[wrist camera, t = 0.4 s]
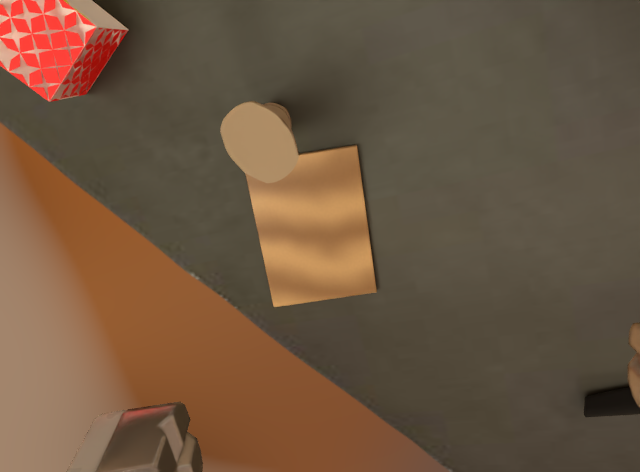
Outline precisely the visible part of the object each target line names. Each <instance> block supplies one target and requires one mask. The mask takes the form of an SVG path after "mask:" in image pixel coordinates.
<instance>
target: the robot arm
mask: <svg viewBox="0 0 640 472" xmlns="http://www.w3.org/2000/svg"><path fill="white" fill-rule="evenodd" d="M629 345H630V346H631V347H632V348H633V349H634V350H635V351H636V352H637V353H636V354H635V356H634V357H633V358H632V360H631V361H630V362H629V364H628V383H629V386H630V390H631V393H632V396H633V398H634V400H635V401H636V403H637V405H638V406H639V408H640V322H639V323H633V325H632V327H631V329H630V331H629ZM189 422H190V417H189V415H188V412H187V410H186V407H185V405H184V404H183V403H181V402H174V403H168V404H162V405H154V406H148V407H141V408H135V409H128V410H122V411H116V412H111V413H104V414H101V415H99V416H98V417H96V418H95V420H94V421H93V423H92V425H91V427H90V429H89V430H88V432H87V434H86V436H85V438H84V440H83V442H82V444H81V446H80V447H79V449H78V451H77V453H76V455H75V457H74V459H73V460H72V463H71V464H70V466H69V468H68V470H67V472H202V468H203V467H202V464H203V462H202V456H201V450H200V447H199V444H198V441H197V438H195V437H194V436H192V435H191V434H190V433H188V432H187V430H188V426H189Z"/></svg>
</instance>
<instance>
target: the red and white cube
mask: <svg viewBox="0 0 640 472" xmlns="http://www.w3.org/2000/svg"><path fill="white" fill-rule="evenodd" d="M128 30H129V29H127V28H126V27H125V26H124V25H122V24H121V23H120V22H119V21H117V20H116V19H115V18H114V17H112V16H111V15H110V14H109V13H107V12H106V11H105V10H104V9H102V8H101V7H100V6H99V5H97V4H96V3H95V2H94V1H92V0H0V66H1V67H3V68H4V69H6V70H7V71H8V72H10V73H11V74H12V75H14V76H15V77H16V78H18V79H19V80H20V81H22V82H23V83H25V84H26V85H27V86H29V87H30V88H31V89H33V90H34V91H35V92H37V93H38V94H39V95H41V96H42V97H44V98H45V99H46V100H48V101H49V102H52V101H56V100H61V99H66V98H70V97H75V96H80V95H85V94H87V93H88V91H89V89H90V88H91V86H92V85H93V83H94V82H95V80H96V79H97V77H98V76H99V74H100V73H101V71H102V70H103V68H104V67H105V65H106V64H107V62H108V60H109V59H110V57H111V56H112V54H113V53H114V51H115V50H116V48H117V47H118V46H119V44H120V42H121V41H122V39H123V38H124V36H125V35H126V33H127V32H128Z"/></svg>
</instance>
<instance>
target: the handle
mask: <svg viewBox="0 0 640 472" xmlns="http://www.w3.org/2000/svg"><path fill="white" fill-rule="evenodd" d="M220 131H221V135H222V138H223V142H224V145H225V148H226V150H227V152H228V154H229V155H230V157H231V158H232V159H233V160H234V162H235V163H236V164H237V165H238V166H239V167H240V168H241V169H242V170H243V171H244V172H245V173H246V174H248V175H250V176H252V177H254V178H256V179H258V180H260V181H263V182H265V183H273V182H277V181H279V180H281V179H283V178H284V177H286V176H287V175H288V174H289V173H290V172H291V171H292V170H293V169H294V167H295V166H296V164H297V161H298V158H299V153H298V149H297V145H296V141H295V138H294V135H293V132H292V130H291V118H290V116H289V114H288V111H287V109H286V108H285V107H282V106H281V105H279V104H276V103H266V104H263V105H262V104H260V103H257V102H255V101H249V102H245V103H242V104H240V105H238V106H237V107H235V108H234V109H233V110H231V111H230V112H229V113H228V114H227V115H226V117H225V118H224V120H223V122H222V125H221V129H220Z"/></svg>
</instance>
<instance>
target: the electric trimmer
mask: <svg viewBox="0 0 640 472" xmlns="http://www.w3.org/2000/svg"><path fill="white" fill-rule="evenodd" d="M632 414H640V408H639V406H638V405H637V403H636V401H635V400H634V398H633V396H632V393H631V390H630V387H628V388H623V389H618V390H613V391H609V392H604V393H600V394H595V395H590V396H587V397H585V407H584V415H585V417H598V416H615V415H632Z"/></svg>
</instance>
